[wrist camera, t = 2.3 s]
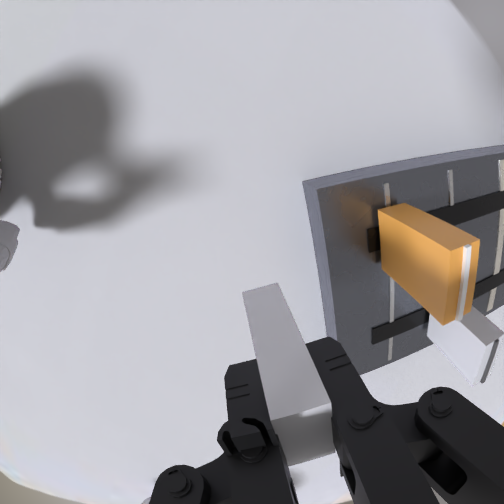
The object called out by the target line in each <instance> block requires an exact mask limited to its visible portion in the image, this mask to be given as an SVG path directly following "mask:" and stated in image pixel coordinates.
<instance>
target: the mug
mask: <svg viewBox="0 0 504 504" xmlns="http://www.w3.org/2000/svg"><path fill="white" fill-rule="evenodd" d="M0 162H1V158H0ZM1 177H2V169H1V168H0V178H1ZM0 188H1V180H0ZM19 231H20V229H19V228H18V226H17V225H15V224H12V223H10V222H6V221H2V220H0V272H1V271H3V270H5V269H6V268H7V266H8V265H9V263H10V262H11V260H12V258H13V255H14V253H15V250H16V248H17V245H18V240H17V236H18V234H19Z"/></svg>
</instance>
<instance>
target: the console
mask: <svg viewBox="0 0 504 504" xmlns="http://www.w3.org/2000/svg"><path fill="white" fill-rule="evenodd" d="M303 188H304V193H305V198H306V203H307V209H308V214H309V220H310V225H311V231H312V237H313V243H314V249H315V255H316V261H317V268H318V274H319V281H320V288H321V295H322V302H323V309H324V317H325V325H326V333H327V337H329V336H330V337H332V338H333V339H335V340H336V341H338V342H339V343H341V345H342V347H343V348H344V350H345V352H346V353H347V356H348V357H349V358H350V360H351V362H352V364H353V365H354V367H355V369H356V370H357V372H358V374H359V375H362V374H364V373H367V372H370V371H372V370H375V369H377V368H380V367H382V366H385V365H387V364H389V363H392V362H394V361H397V360H399V359H401V358H403V357H406V356H408V355H410V354H412V353H415V352H417V351H419V350H421V349H423V348H425V347H427V346H429V345H432V344H434V343H433V342H432V341H431V340H430V339H429V338H428V337H427V332H428V324H429V316H430V313H429V312H428V311H427V310H426V309H425V308H424V307H423V306H422V305H421V304H419V303H418V302H417V301H416V300H415V299H414V298H413V297H412V296H411V295H410V294H409V293H408V292H407V291H405V290H404V289H403V288H402V287H401V286H400V285H399V284H398V283H397V282H396V281H394V280H393V279H392V278H391V277H390V276H389V275H388V274H387V273H386V272H384V271H383V270H382V264H381V246H380V231H379V219H378V209H382V208H386V207H390V206H393V205H397V204H401V203H406V204H409V205H411V206H413V207H415V208H417V209H420V210H422V211H424V212H426V213H428V214H430V215H432V216H435V217H437V218H439V219H441V220H443V221H445V222H447V223H449V224H451V225H453V226H455V227H457V228H459V229H461V230H463V231H465V232H467V233H469V234H471V235H473V236H474V237H476V238H478V239H480V246H479V257H478V266H477V274H476V282H475V289H474V295H473V301H472V306H473V307H475V308H476V309H477V310H478V311H479V312H481V313H482V314H483V315H484V316H486V315H487V314H489V313H491V312H492V311H494V310H496V309H497V308H499V307H501V306H502V305H504V145H500V146H492V147H485V148H477V149H470V150H463V151H457V152H450V153H444V154H438V155H432V156H426V157H420V158H414V159H409V160H403V161H398V162H392V163H387V164H382V165H377V166H372V167H367V168H362V169H357V170H352V171H347V172H343V173H338V174H333V175H329V176H324V177H320V178H316V179H311V180H307V181H303Z"/></svg>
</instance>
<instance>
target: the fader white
mask: <svg viewBox="0 0 504 504" xmlns="http://www.w3.org/2000/svg"><path fill="white" fill-rule="evenodd" d="M427 337H428V338H429V339H430V340H431V341H432V342H433V343H434V344H435V345H436V346H437V347H438V349H439V350H440V351H441V352H442V353H443V354H444V355H445V356H446V357H447V359H448V360H449V361H450V362H451V363H452V364H453V365H454V366H455V368H456V369H457V370H458V371H459V372H460V373H461V375H462V376H463V377H464V378H465V379H466V380H467V382H468V383H469V384H470V385H471V386H472V387H473V386H474V385H476V384H478V383H479V382H481V383H484V382H485V380H486V378H487V377H488V376H490V375H491V373H492V370H493V368H494V365H495V362H496V359H497V357H498V354H499V351H500V348H501V345H502V342H503V339H504V332H503V331H502V330H500V329H499V328H498V327H497V326H496V325H495V324H494V323H492V322H491V321H490V320H489V319H488V318H487V317H485V316H484V315H483V314H482V313H481V312H479V311H478V310H477V309H476V308H475V307H473V306H472V307H471V312H469V313H467V314H465V315H463V318H462V320H461V321H459V322H457V321H456V320H454V321H452V322H450V323H448V324H446V325H444V326H442V325H441V324H440V323H439V322H438V321H437V320H436V319H435V318H434V317H433V316H432V315H431V314H430V316H429V324H428V332H427Z"/></svg>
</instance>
